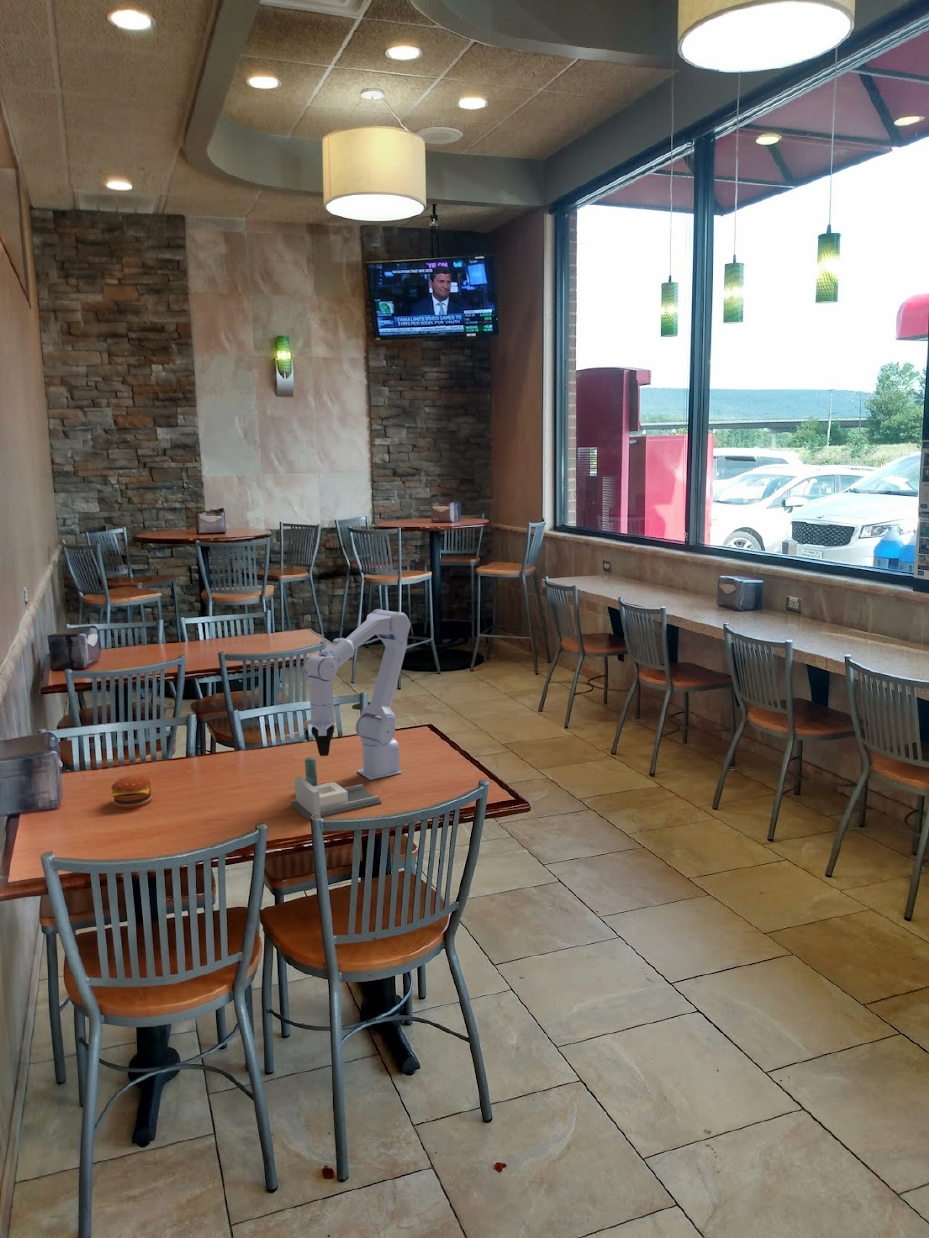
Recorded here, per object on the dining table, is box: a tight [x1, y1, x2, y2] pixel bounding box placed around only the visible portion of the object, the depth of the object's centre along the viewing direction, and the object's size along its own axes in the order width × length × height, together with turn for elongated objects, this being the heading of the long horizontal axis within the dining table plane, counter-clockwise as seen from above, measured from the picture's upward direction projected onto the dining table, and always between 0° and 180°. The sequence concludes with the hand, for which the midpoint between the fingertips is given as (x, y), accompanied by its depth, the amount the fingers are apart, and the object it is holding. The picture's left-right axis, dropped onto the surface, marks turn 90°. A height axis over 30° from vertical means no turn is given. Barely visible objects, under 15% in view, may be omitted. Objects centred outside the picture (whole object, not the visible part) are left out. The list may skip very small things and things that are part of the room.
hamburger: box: [110, 774, 153, 810], centre depth 228 cm, size 9×10×7 cm
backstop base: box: [289, 776, 382, 821], centre depth 225 cm, size 19×12×7 cm, turn 121°
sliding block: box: [313, 781, 348, 808], centre depth 224 cm, size 8×8×4 cm
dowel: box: [304, 756, 318, 786], centre depth 235 cm, size 3×3×8 cm
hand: (324, 755), depth 231 cm, fingers closed
